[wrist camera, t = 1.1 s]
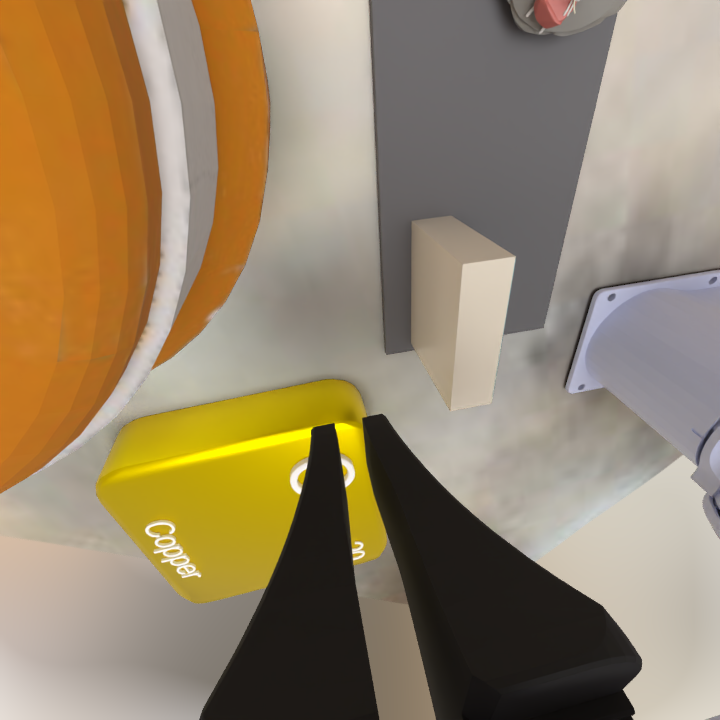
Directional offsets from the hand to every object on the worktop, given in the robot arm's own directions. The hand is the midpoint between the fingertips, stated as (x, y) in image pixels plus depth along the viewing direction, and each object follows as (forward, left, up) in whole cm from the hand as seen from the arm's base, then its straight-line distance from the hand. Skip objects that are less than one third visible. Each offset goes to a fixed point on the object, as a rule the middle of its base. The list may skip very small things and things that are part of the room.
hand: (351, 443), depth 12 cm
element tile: (+5, +13, -11) cm, 18 cm away
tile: (-6, 0, -10) cm, 12 cm away
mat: (-8, -6, -10) cm, 15 cm away
